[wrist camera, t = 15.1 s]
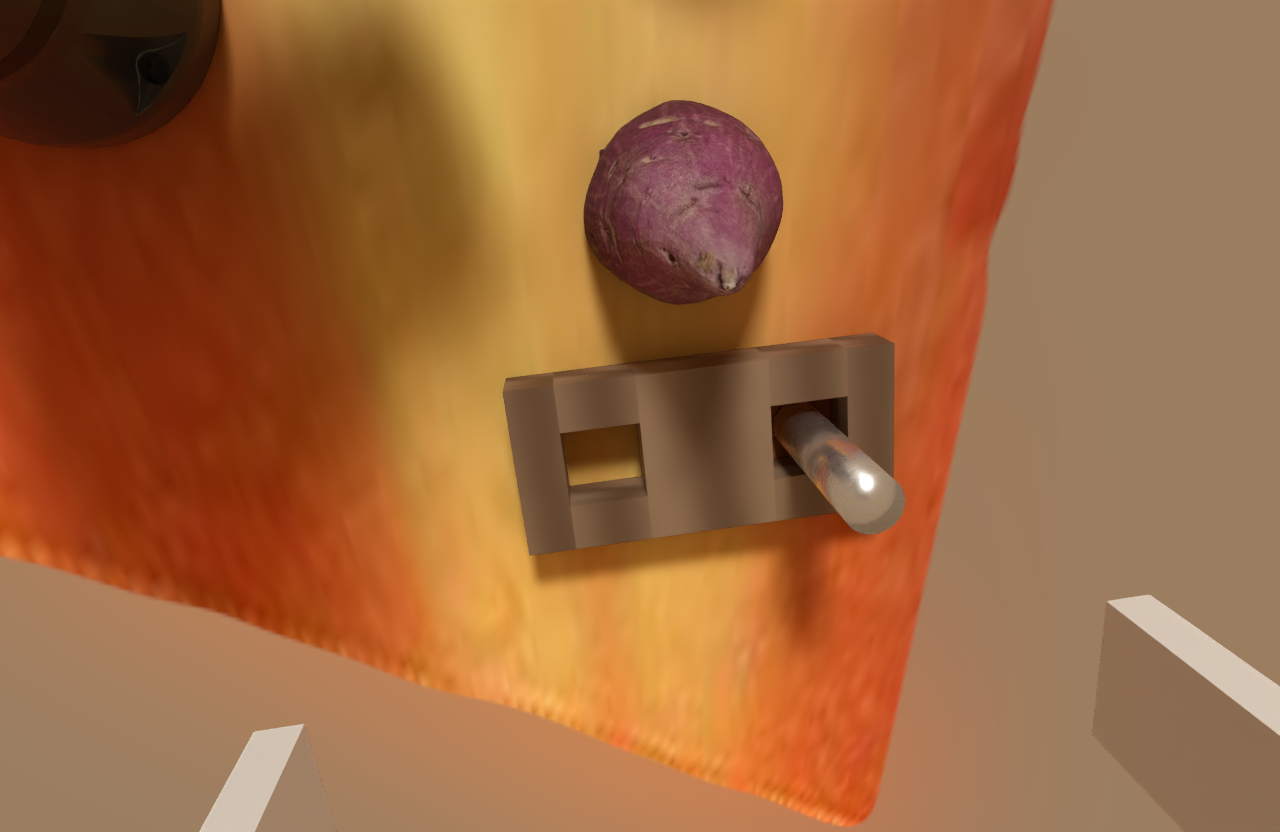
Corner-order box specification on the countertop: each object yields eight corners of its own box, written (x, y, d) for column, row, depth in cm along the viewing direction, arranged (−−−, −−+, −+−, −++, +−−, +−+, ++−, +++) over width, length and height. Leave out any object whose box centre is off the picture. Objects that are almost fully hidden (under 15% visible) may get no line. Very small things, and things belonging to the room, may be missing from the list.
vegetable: (738, 279, 46) (844, 406, 34) (572, 277, 44) (623, 411, 32) (771, 98, 41) (912, 171, 29) (584, 84, 38) (651, 156, 26)
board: (531, 532, 47) (529, 555, 44) (506, 378, 43) (502, 392, 41) (873, 485, 48) (893, 504, 45) (873, 332, 45) (894, 343, 42)
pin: (773, 450, 47) (843, 538, 35) (771, 404, 46) (842, 480, 34) (820, 443, 47) (905, 529, 35) (819, 398, 46) (905, 471, 35)
